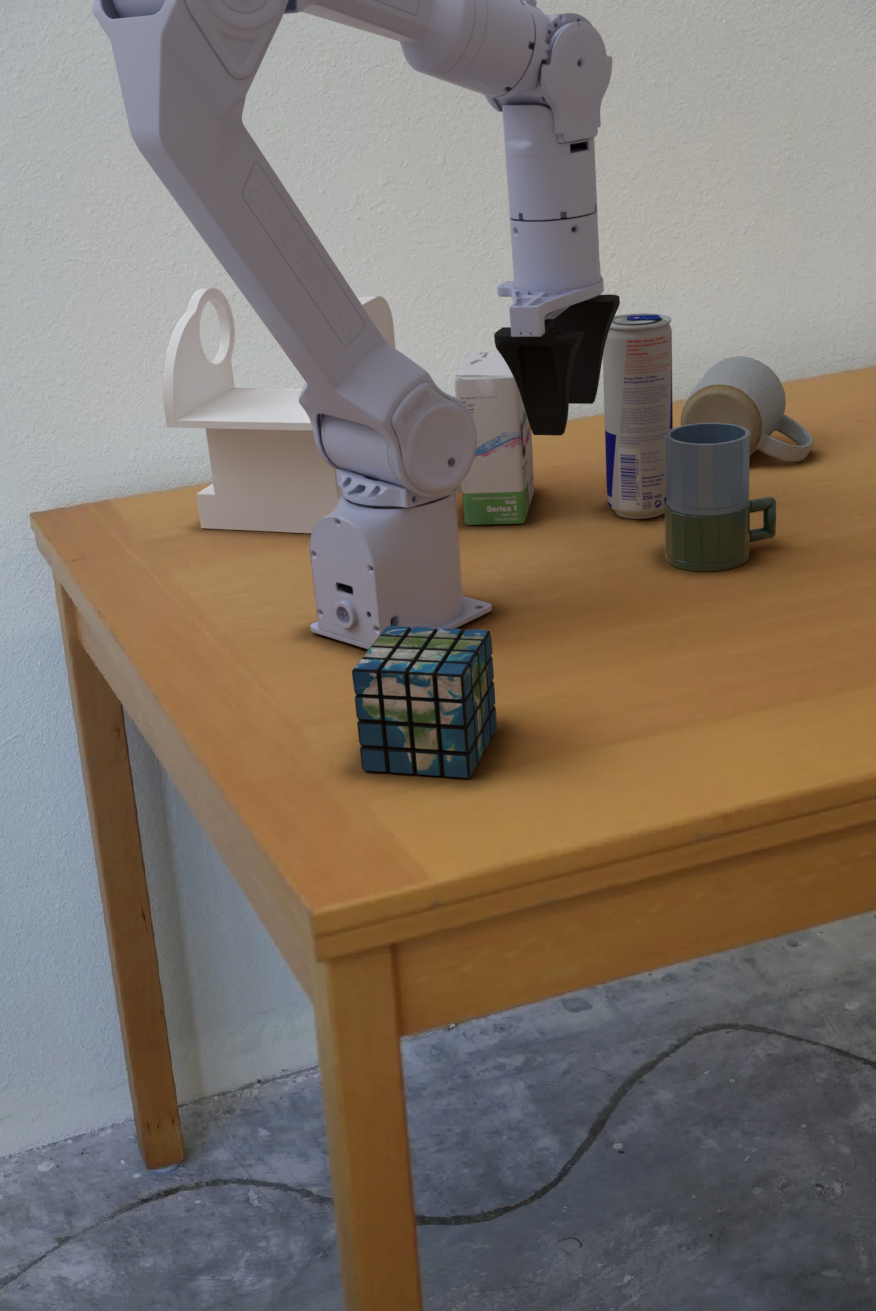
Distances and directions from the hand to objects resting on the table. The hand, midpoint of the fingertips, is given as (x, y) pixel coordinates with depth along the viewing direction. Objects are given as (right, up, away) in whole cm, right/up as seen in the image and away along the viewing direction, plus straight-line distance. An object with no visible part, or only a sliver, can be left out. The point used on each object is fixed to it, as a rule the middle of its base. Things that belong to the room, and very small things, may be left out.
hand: (564, 417), depth 102 cm
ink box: (-4, -5, +16) cm, 17 cm away
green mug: (+11, -9, +3) cm, 15 cm away
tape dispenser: (-20, -5, +18) cm, 27 cm away
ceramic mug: (+18, +1, +25) cm, 31 cm away
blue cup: (+10, -6, +1) cm, 12 cm away
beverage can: (+7, -5, +13) cm, 16 cm away
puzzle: (-9, -22, -21) cm, 32 cm away
